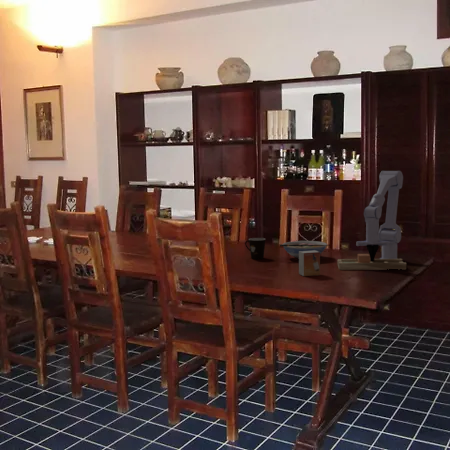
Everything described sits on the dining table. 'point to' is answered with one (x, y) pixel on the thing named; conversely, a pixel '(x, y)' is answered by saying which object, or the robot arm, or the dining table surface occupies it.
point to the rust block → (363, 258)
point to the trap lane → (371, 264)
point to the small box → (309, 263)
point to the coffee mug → (256, 247)
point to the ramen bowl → (303, 247)
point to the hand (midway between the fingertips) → (372, 261)
